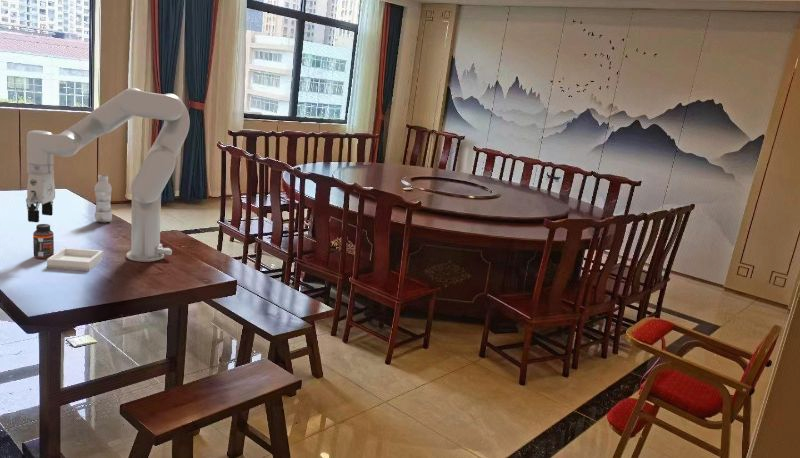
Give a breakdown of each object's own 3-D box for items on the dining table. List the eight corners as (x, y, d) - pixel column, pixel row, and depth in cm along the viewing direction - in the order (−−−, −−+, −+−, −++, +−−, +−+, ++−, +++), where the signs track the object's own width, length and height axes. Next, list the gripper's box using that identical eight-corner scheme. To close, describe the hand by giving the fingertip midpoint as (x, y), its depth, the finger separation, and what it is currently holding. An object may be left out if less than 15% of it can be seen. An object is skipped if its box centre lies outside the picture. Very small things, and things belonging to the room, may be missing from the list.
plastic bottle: (115, 222, 248) (115, 176, 244) (100, 224, 243) (99, 177, 238) (106, 219, 252) (106, 173, 247) (91, 221, 246) (90, 174, 241)
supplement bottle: (44, 260, 196) (43, 228, 193) (29, 257, 197) (28, 225, 194) (58, 256, 202) (57, 224, 199) (43, 253, 203) (42, 222, 200)
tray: (103, 258, 205) (103, 250, 204) (89, 270, 192) (89, 262, 191) (64, 255, 203) (64, 247, 202) (47, 267, 190) (46, 259, 189)
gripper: (40, 174, 184) (40, 225, 188) (64, 166, 201) (63, 213, 205) (14, 171, 183) (15, 223, 187) (40, 163, 200) (40, 211, 204)
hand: (40, 218), depth 196 cm, fingers open, 9 cm apart
